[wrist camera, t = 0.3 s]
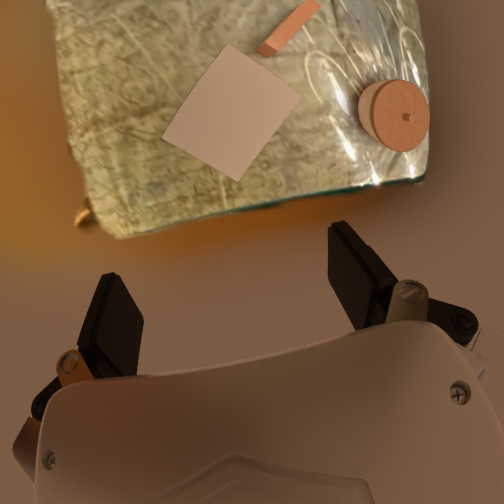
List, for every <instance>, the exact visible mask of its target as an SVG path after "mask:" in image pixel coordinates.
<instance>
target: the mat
mask: <svg viewBox="0 0 504 504" xmlns="http://www.w3.org/2000/svg"><path fill="white" fill-rule="evenodd" d="M302 98H303V96H302V95H300V94H299V93H298V92H297V91H295V90H294V89H293V88H291V87H290V86H289V85H288V84H286V83H285V82H284V81H282V80H281V79H279V78H278V77H277V76H275V75H274V74H273V73H271V72H270V71H268V70H267V69H265V68H264V67H263V66H261V65H260V64H258V63H257V62H255V61H254V60H252V59H251V58H249V57H247V56H246V55H244V54H243V53H241V52H240V51H238V50H236V49H235V48H233V47H231V46H230V45H228V44H227V45H226V46H225V48H224V49H223V50H222V51H221V52H220V54H219V55H218V56H217V57H216V59H215V60H214V61H213V63H212V64H211V65H210V66H209V68H208V69H207V70H206V72H205V73H204V74H203V76H202V77H201V78H200V80H199V81H198V83H197V84H196V85H195V87H194V88H193V90H192V91H191V92H190V94H189V95H188V97H187V98H186V100H185V101H184V103H183V104H182V106H181V107H180V109H179V110H178V112H177V113H176V115H175V116H174V118H173V119H172V121H171V123H170V124H169V126H168V127H167V129H166V131H165V132H164V134H163V136H162V137H161V138H162V139H164V140H166V141H167V142H169V143H171V144H173V145H175V146H176V147H178V148H180V149H182V150H184V151H185V152H187V153H189V154H191V155H192V156H194V157H196V158H198V159H199V160H201V161H203V162H205V163H206V164H208V165H210V166H211V167H213V168H215V169H217V170H218V171H220V172H222V173H223V174H225V175H227V176H228V177H230V178H232V179H233V180H235V181H237V182H238V181H239V179H240V178H241V177H242V175H243V174H244V173H245V171H246V170H247V169H248V167H249V166H250V164H251V163H252V162H253V160H254V159H255V158H256V156H257V155H258V154H259V152H260V151H261V150H262V148H263V147H264V146H265V145H266V143H267V142H268V141H269V139H270V138H271V137H272V135H273V134H274V133H275V132H276V130H277V129H278V128H279V126H280V125H281V124H282V123H283V121H284V120H285V119H286V117H287V116H288V115H289V114H290V112H291V111H292V110H293V109H294V107H295V106H296V105H297V104H298V103H299V101H300V100H301V99H302Z"/></svg>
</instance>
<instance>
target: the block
mask: <svg viewBox="0 0 504 504" xmlns="http://www.w3.org/2000/svg"><path fill="white" fill-rule="evenodd" d="M320 7H321V5H320V4H319V3H317V2H316V1H315V0H305V1H303V2H302V3H301V4H300V5H298V6H297V7H296V8H294V9H293V10H292V11H291V12H290V13H289V14H288V15H287V16H286V17H285V18H284V19H283V20H282V21H281V22H280V23H279V24H278V25H277V26H276V28H275V29H274V30H273V31H272V32H271V33H270V34H269V35H268V36H267V37H266V38H265V40H264V41H263V42H262V43H261V44H260V45H259V46H258V48H257V49H256V50H255V51H257V52H258V53H260V54H261V55H263V56H264V57H268V56H270V55H272V54H274V53H276V52H278V51H279V50H280V49H281V48H282V47H283V46H284V45H285V43H286V42H287V41H288V40H289V39H290V38H291V37H292V36H293V35H294V34H295V32H296V31H297V30H298V29H299V28H300V27H301V26H302V25H303V24H304V23H305V22H306V21H307V20H308V19H309V18H310V17H311V16H312V15H313V14H314V13H315V12H316V11H317V10H318V9H319V8H320Z"/></svg>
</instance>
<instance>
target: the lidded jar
mask: <svg viewBox="0 0 504 504" xmlns="http://www.w3.org/2000/svg"><path fill="white" fill-rule="evenodd" d="M358 114H359V119H360V122H361V124H362V126H363V127H364V129H365V130H366V132H367V133H368V134H369V135H370V136H371V137H372V138H374V139H375V140H376V141H378V142H379V143H381V144H383V145H385V146H386V147H388V148H389V149H391V150H394V151H397V152H407V151H410V150H412V149H414V148H416V147H417V146H418V145H419V144H420V143H421V142H422V141H423V139H424V138H425V136H426V133H427V131H428V127H429V121H430V114H429V108H428V104H427V101H426V99H425V97H424V95H423V94H422V92H421V91H420V90H419V89H418V88H417V87H416V86H415V85H414V84H412V83H410V82H408V81H405V80H382V81H378V82H375V83H373V84H371V85H370V86H368V87H367V88H366V89H365V90H364V91H363V93H362V95H361V97H360V99H359V103H358Z"/></svg>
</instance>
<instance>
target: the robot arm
mask: <svg viewBox="0 0 504 504" xmlns="http://www.w3.org/2000/svg"><path fill="white" fill-rule="evenodd" d="M328 279H329V282H330V284H331V286H332V288H333V290H334V291H335V293H336V295H337V297H338V299H339V301H340V302H341V304H342V306H343V308H344V310H345V311H346V314H347V315H348V317H349V319H350V321H351V323H352V325H353V327H354V329H355V330H356V331H354V332H351V333H347V334H344V335H341V336H337V337H334V338H330V339H326V340H323V341H319V342H316V343H312V344H308V345H304V346H301V347H297V348H293V349H289V350H285V351H280V352H276V353H272V354H267V355H263V356H258V357H254V358H249V359H244V360H239V361H234V362H229V363H223V364H217V365H212V366H206V367H199V368H193V369H186V370H179V371H172V372H164V373H155V374H145V375H137V366H138V358H139V351H140V344H141V337H142V331H143V324H144V320H143V316H142V314H141V312H140V311H139V309H138V307H137V306H136V304H135V302H134V300H133V299H132V297H131V295H130V294H129V292H128V290H127V288H126V286H125V285H124V283H123V281H122V279H121V277H120V276H119V275H116V274H115V273H114V272H112V273H108V274H104V275H102V276H101V279H100V281H99V283H98V286H97V288H96V291H95V293H94V296H93V298H92V301H91V304H90V306H89V309H88V312H87V315H86V318H85V320H84V323H83V326H82V329H81V332H80V335H79V338H78V342H77V345H78V346H79V348H78V351H77V350H69V351H67V352H65V353H64V354H63V355H62V356H61V357H60V358H59V360H58V362H57V365H56V372H57V375H58V376H57V377H56V378H55V379H54V380H53V381H52V382H51V383H50V384H49V385H48V386H47V387H45V388H44V389H43V390H42V391H41V392H40V393H39V394H38V395H37V396H36V397H35V399H34V400H33V403H32V406H31V412H32V417H30V416H29V417H28V418H27V420H26V422H25V424H24V425H23V427H22V429H21V430H20V432H19V434H18V436H17V437H16V439H15V441H14V443H13V449H12V450H13V455H14V457H15V459H16V460H17V461H18V463H19V464H20V465H21V467H22V468H23V469H24V471H25V472H26V473H27V474H28V476H29V477H30V478H31V479H32V481H33V482H34V483H35V504H504V434H503V431H502V428H501V426H500V423H499V421H498V417H499V414H500V412H501V409H502V407H503V405H504V337H503V336H501V335H499V334H498V333H496V332H495V331H493V330H491V329H490V328H488V327H487V326H485V325H483V326H482V327H481V326H479V325H478V320H477V318H476V316H475V315H474V314H473V313H472V312H471V311H469V310H467V309H465V308H462V307H458V306H455V305H452V304H448V303H445V302H442V301H438V300H434V299H431V298H429V294H428V290H427V288H426V287H425V286H424V285H423V284H421V283H420V282H418V281H415V280H410V279H407V280H402V281H398V280H397V278H396V277H395V276H394V275H393V274H392V272H391V271H390V270H389V268H388V267H387V266H386V265H385V264H384V262H383V261H382V260H381V259H380V257H379V256H378V255H377V254H376V253H375V252H374V250H373V249H372V248H371V247H370V246H367V245H366V244H365V242H364V241H363V240H362V239H361V238H360V237H359V236H358V234H357V233H356V232H355V231H354V230H353V229H352V228H351V226H350V225H349V224H348V223H347V222H346V221H344V220H343V221H339V222H334V223H332V225H331V227H329V228H328Z"/></svg>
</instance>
